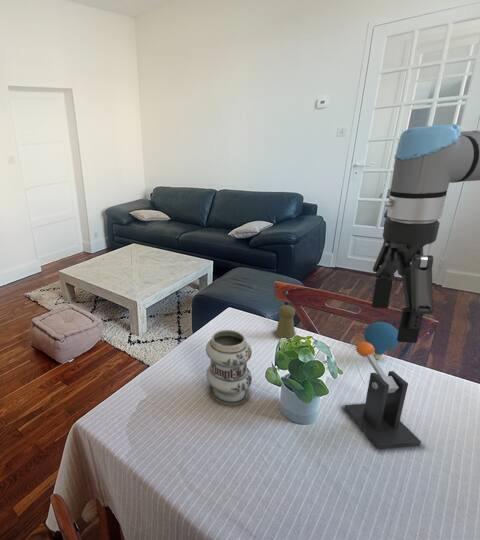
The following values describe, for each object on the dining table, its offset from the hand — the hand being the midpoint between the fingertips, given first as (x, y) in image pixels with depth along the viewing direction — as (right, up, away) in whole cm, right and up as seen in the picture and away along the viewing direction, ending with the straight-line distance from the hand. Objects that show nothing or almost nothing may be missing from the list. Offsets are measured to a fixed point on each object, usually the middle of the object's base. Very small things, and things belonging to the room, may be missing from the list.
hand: (391, 322), depth 68 cm
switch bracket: (+6, -26, +12) cm, 29 cm away
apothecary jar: (-24, -24, +27) cm, 44 cm away
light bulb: (+23, -16, +34) cm, 44 cm away
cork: (+3, -12, +50) cm, 52 cm away
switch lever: (+5, -13, +12) cm, 18 cm away
